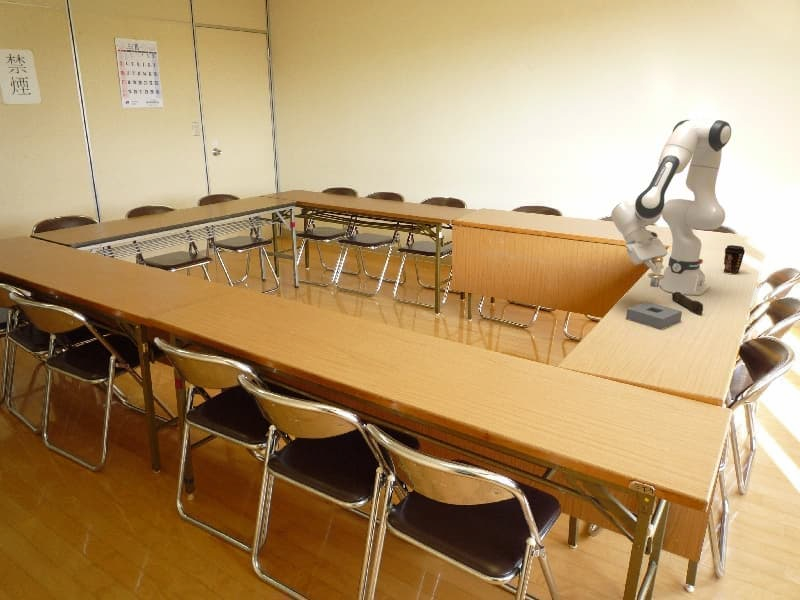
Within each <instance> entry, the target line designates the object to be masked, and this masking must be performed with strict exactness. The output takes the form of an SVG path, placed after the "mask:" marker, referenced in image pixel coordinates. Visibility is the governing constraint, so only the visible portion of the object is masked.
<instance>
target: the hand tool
mask: <svg viewBox="0 0 800 600" xmlns="http://www.w3.org/2000/svg"><path fill="white" fill-rule="evenodd" d="M671 300H672V301H674V302H677V303H679V304H681V305H683V306H684V307H686V308H688V309H689V311H690V313H693V314H696V315H697V316H702V315H703V311H704V304H703V303H702V302H701V301H698V300H692V299H690V298H689V297H687V296H685V294H681V293H680V292H675V293H672V295H671Z"/></svg>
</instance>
